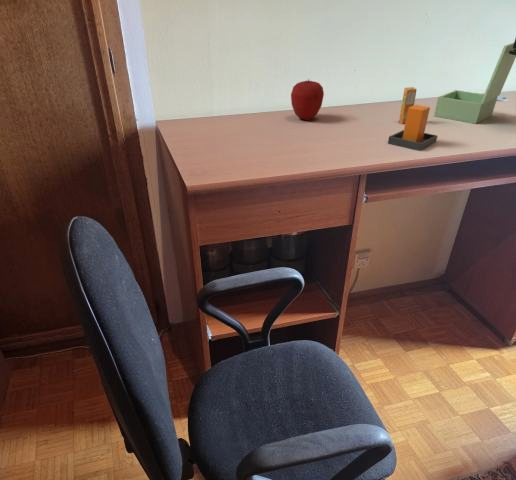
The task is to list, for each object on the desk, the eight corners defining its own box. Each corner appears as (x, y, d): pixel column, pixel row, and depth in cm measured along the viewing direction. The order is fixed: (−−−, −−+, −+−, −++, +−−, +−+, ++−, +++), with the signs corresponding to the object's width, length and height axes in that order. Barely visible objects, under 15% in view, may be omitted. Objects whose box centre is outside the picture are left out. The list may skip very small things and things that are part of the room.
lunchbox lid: (504, 45, 131) (523, 50, 129) (520, 40, 139) (538, 44, 137) (480, 102, 142) (497, 107, 140) (497, 94, 150) (513, 99, 148)
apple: (291, 113, 156) (293, 75, 148) (322, 115, 155) (325, 76, 147) (288, 122, 148) (289, 82, 140) (320, 123, 146) (324, 83, 139)
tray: (436, 142, 132) (437, 135, 130) (420, 150, 126) (421, 143, 125) (404, 135, 137) (405, 128, 136) (387, 143, 131) (388, 136, 130)
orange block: (422, 141, 131) (430, 107, 125) (415, 144, 129) (422, 110, 123) (408, 138, 134) (415, 104, 128) (401, 141, 131) (408, 107, 125)
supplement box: (397, 121, 149) (404, 86, 142) (407, 120, 149) (414, 86, 142) (400, 123, 146) (407, 89, 140) (411, 123, 146) (418, 89, 140)
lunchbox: (433, 115, 154) (438, 97, 150) (451, 108, 162) (455, 90, 158) (475, 123, 146) (481, 104, 142) (491, 115, 154) (497, 96, 150)
